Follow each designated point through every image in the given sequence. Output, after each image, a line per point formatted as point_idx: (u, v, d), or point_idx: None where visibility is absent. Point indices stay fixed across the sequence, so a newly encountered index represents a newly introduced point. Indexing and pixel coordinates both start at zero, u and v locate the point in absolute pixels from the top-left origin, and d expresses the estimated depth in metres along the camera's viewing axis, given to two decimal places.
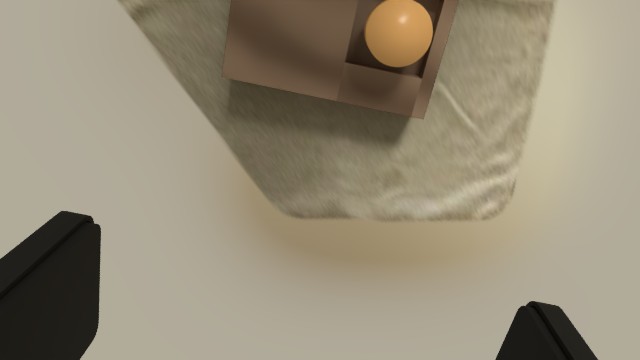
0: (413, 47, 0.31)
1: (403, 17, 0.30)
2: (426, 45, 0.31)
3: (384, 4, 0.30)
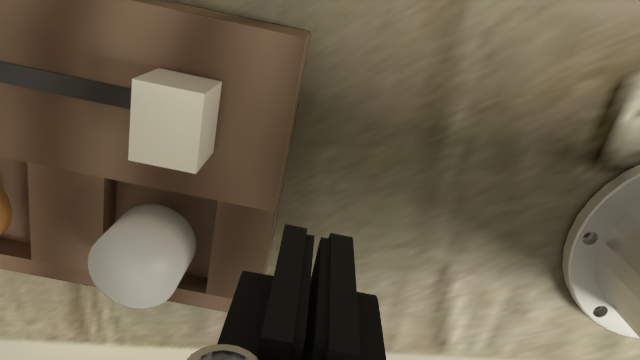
0: None
1: None
2: None
3: None
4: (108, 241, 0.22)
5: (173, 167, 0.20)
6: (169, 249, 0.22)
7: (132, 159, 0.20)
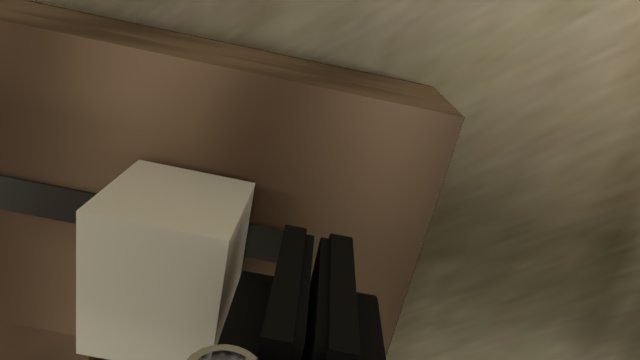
0: None
1: None
2: None
3: None
4: None
5: None
6: None
7: (84, 352, 0.10)
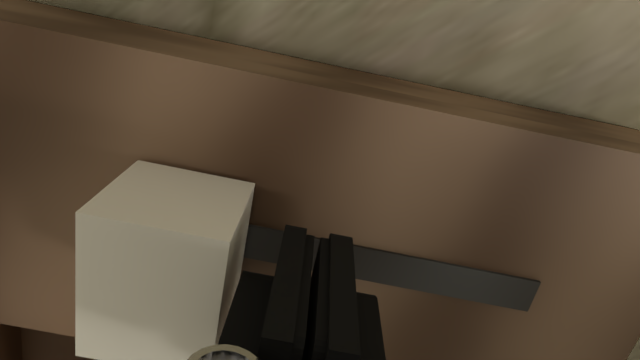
0: None
1: None
2: None
3: None
4: None
5: None
6: None
7: (83, 354, 0.10)
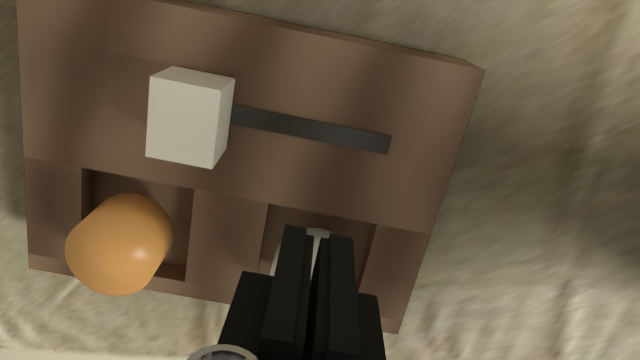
0: (95, 276, 0.23)
1: (131, 261, 0.23)
2: (101, 289, 0.23)
3: (143, 239, 0.22)
4: None
5: (189, 163, 0.21)
6: None
7: (149, 155, 0.20)
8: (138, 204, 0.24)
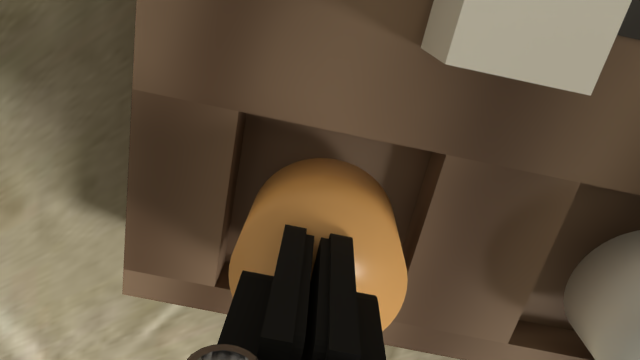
0: None
1: (359, 289, 0.11)
2: None
3: (394, 245, 0.11)
4: None
5: (543, 80, 0.09)
6: None
7: (456, 61, 0.09)
8: (355, 178, 0.12)
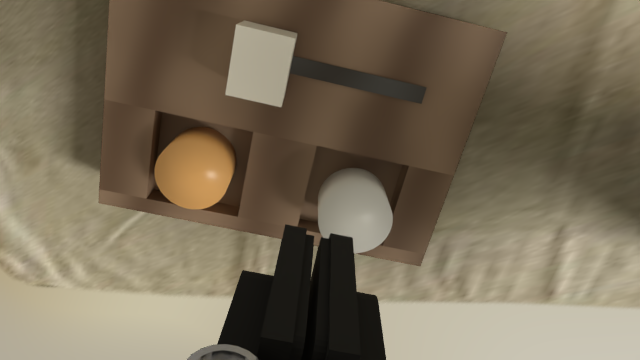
0: (178, 191, 0.28)
1: (209, 179, 0.28)
2: (181, 204, 0.28)
3: (221, 159, 0.27)
4: (340, 196, 0.26)
5: (263, 101, 0.24)
6: (388, 202, 0.27)
7: (229, 94, 0.24)
8: (212, 135, 0.29)
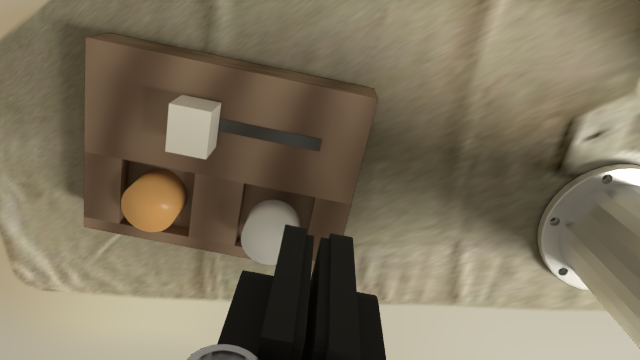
0: (139, 219, 0.37)
1: (161, 209, 0.37)
2: (142, 228, 0.38)
3: (169, 195, 0.36)
4: (255, 222, 0.35)
5: (192, 155, 0.34)
6: None
7: (167, 150, 0.33)
8: (165, 175, 0.38)
